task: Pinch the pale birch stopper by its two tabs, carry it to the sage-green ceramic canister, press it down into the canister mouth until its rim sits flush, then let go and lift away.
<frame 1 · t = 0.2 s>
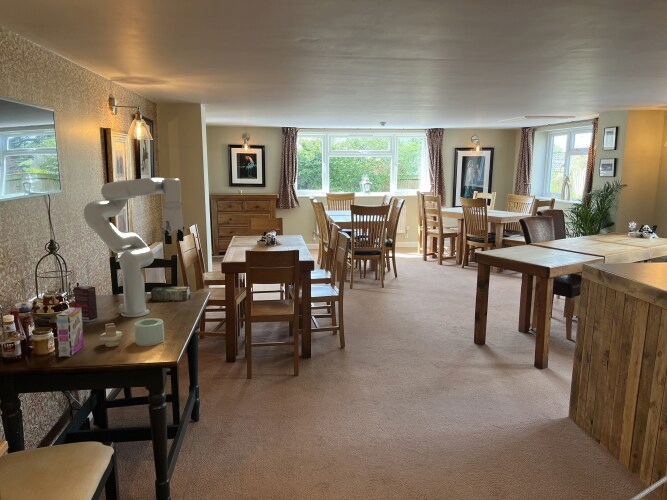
hand: (174, 242, 223), 37 cm above the table, tool pointing down, fingers open, 9 cm apart
juice carton: (171, 299, 264), on the table
canister: (149, 341, 199), on the table
supplement box: (86, 320, 225), on the table
stopper: (111, 344, 195), on the table
candy bar box: (72, 352, 187), on the table
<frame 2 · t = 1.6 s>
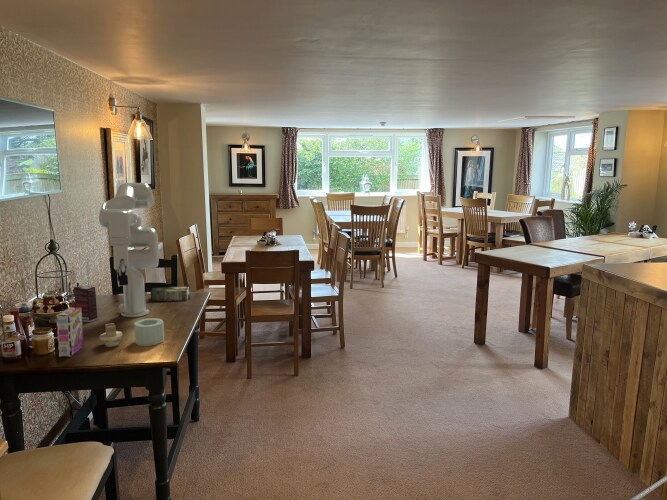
hand: (122, 282, 197), 24 cm above the table, tool pointing down, fingers open, 9 cm apart
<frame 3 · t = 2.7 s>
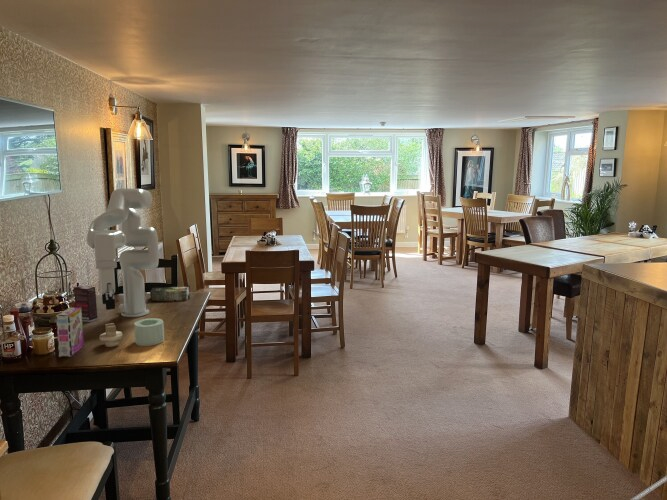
hand: (108, 306, 191), 16 cm above the table, tool pointing down, fingers open, 9 cm apart
nothing on the table moved.
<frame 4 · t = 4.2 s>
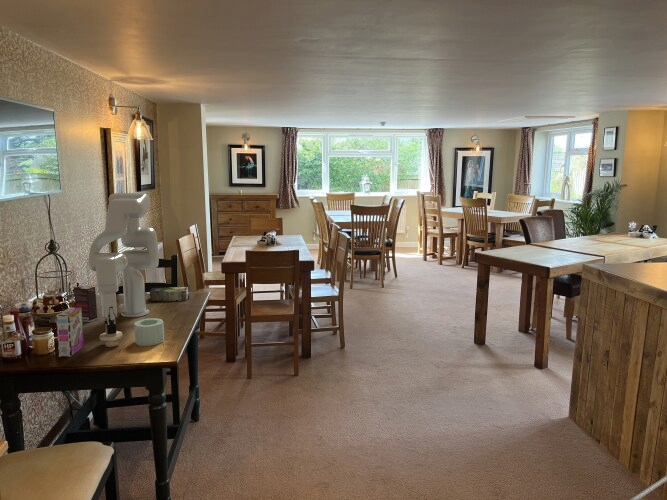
hand: (110, 331, 194), 6 cm above the table, tool pointing down, fingers closed on stopper, 4 cm apart
stopper: (111, 344, 195), on the table, touching gripper
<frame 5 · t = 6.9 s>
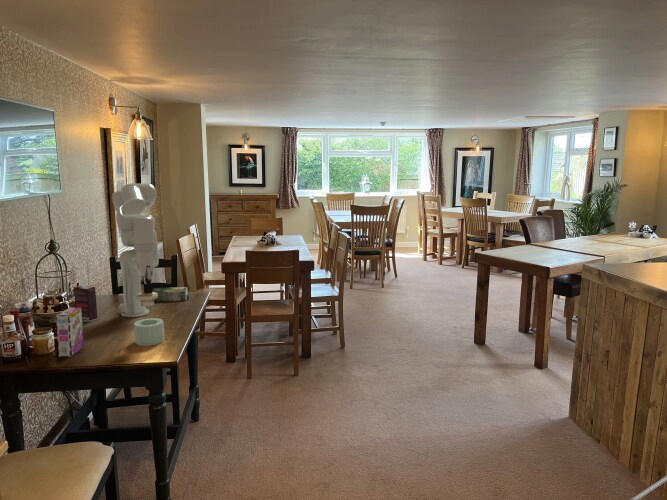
hand: (146, 291, 195), 21 cm above the table, tool pointing down, fingers closed on stopper, 4 cm apart
stopper: (147, 304, 196), point 16 cm above the table, touching gripper
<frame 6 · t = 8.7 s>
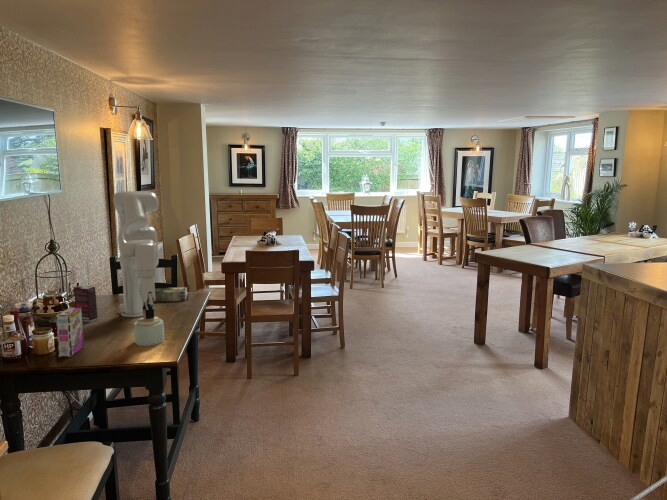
hand: (148, 316, 197), 11 cm above the table, tool pointing down, fingers closed on stopper, 4 cm apart
stopper: (149, 329, 198), point 5 cm above the table, touching canister, gripper
when the fingers open (11 cm above the table, at t = 9.9 s): stopper stays where it is, resting on canister.
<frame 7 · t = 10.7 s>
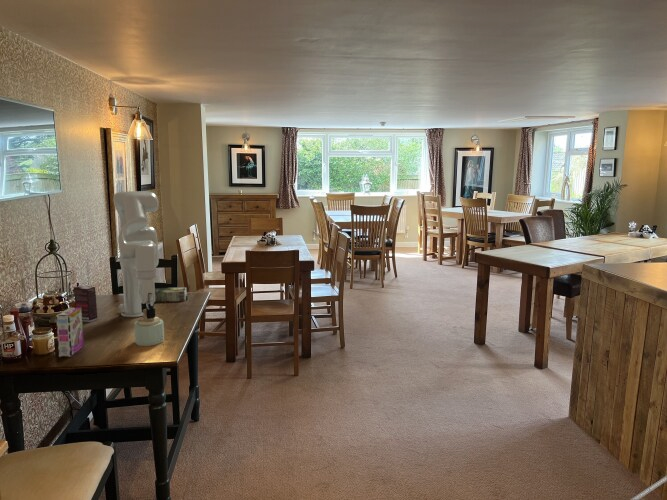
hand: (148, 314, 197), 11 cm above the table, tool pointing down, fingers open, 9 cm apart
stopper: (149, 329, 198), point 5 cm above the table, touching canister
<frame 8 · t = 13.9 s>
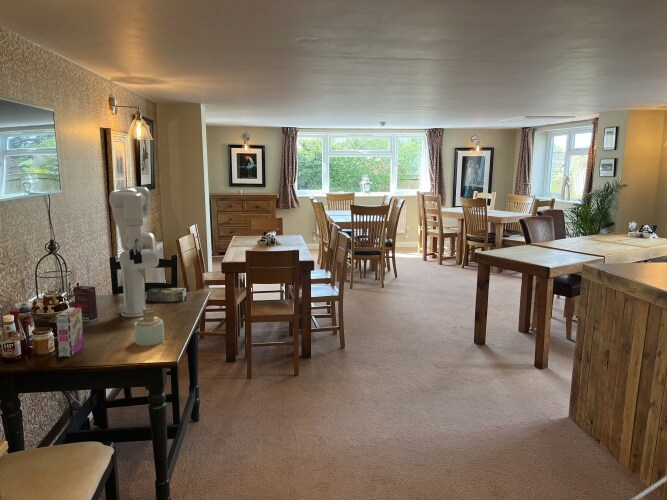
hand: (135, 261, 209), 30 cm above the table, tool pointing down, fingers open, 9 cm apart
at the end: stopper 0.1 cm off-centre on the canister, point 5.0 cm above the canister's base; stopper tilted 0°; the gripper is holding nothing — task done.
